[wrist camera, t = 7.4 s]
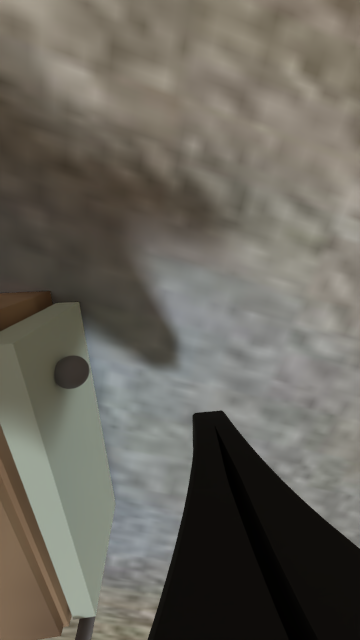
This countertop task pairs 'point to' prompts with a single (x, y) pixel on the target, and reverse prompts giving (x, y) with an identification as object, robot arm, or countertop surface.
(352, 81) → the countertop surface
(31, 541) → the cabinet
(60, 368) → the door
